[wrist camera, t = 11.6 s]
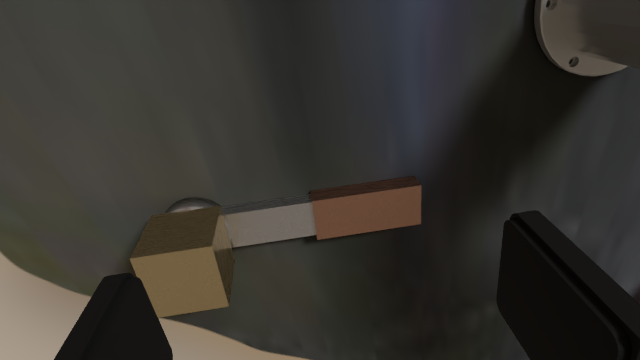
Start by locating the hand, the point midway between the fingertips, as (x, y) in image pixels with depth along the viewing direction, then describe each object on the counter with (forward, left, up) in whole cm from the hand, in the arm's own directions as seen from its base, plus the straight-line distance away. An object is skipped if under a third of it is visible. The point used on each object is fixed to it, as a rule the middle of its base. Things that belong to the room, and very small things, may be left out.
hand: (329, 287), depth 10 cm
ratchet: (+3, +13, -25) cm, 28 cm away
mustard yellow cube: (+10, +13, -23) cm, 28 cm away
